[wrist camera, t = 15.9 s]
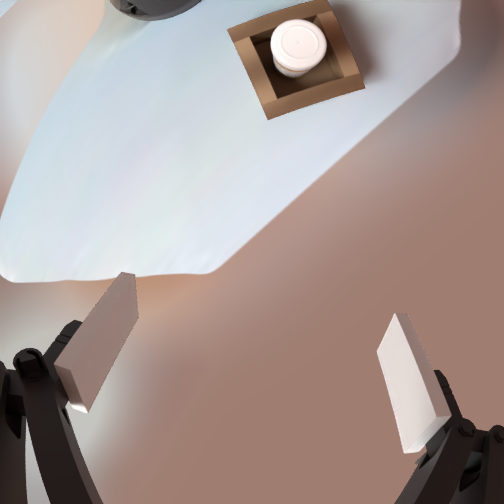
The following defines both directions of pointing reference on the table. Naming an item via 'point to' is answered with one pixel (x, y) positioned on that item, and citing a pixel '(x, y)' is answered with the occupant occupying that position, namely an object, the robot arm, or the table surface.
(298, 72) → the sprinkles bottle
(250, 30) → the walnut socket block
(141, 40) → the table surface
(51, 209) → the table surface
